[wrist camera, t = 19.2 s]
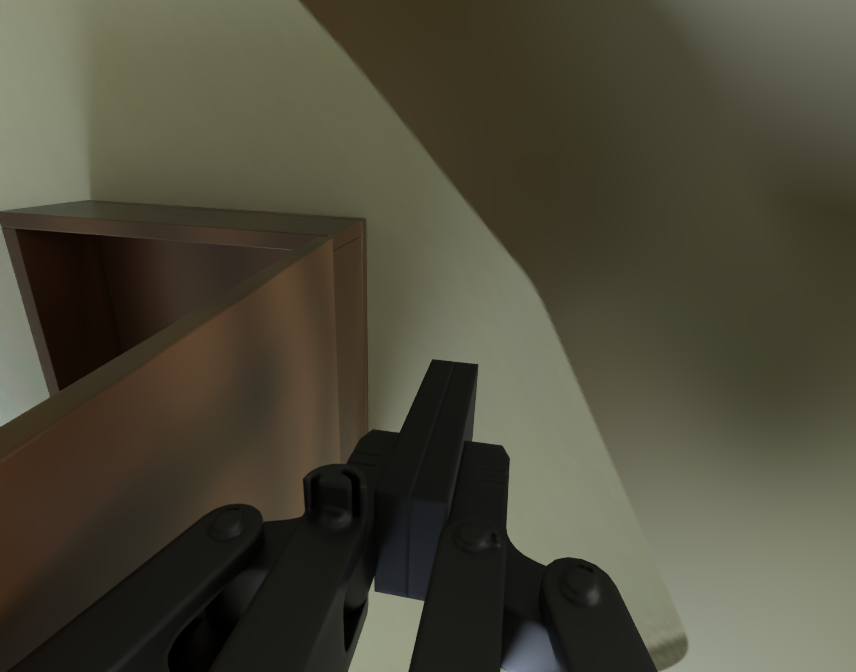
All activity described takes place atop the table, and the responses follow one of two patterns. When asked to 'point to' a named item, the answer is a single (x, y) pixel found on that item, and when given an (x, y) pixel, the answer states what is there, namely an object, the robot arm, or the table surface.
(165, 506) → the lid
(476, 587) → the robot arm
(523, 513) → the table surface
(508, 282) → the table surface
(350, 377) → the chest
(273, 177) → the table surface
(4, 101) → the table surface
